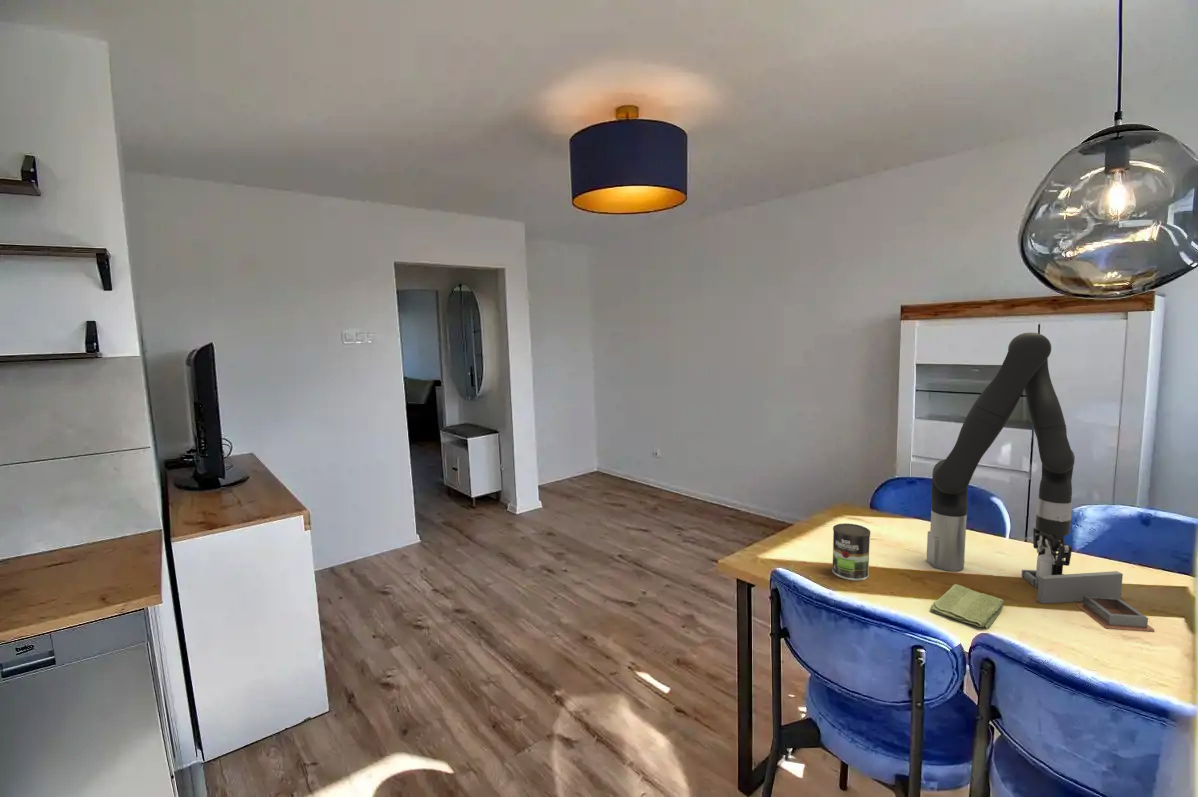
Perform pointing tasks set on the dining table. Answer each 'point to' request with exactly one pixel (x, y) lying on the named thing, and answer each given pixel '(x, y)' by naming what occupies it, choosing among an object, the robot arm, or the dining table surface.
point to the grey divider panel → (1079, 586)
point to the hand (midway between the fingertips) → (1049, 571)
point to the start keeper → (1031, 577)
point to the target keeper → (1114, 613)
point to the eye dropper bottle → (1044, 564)
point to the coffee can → (851, 551)
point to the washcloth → (968, 606)
